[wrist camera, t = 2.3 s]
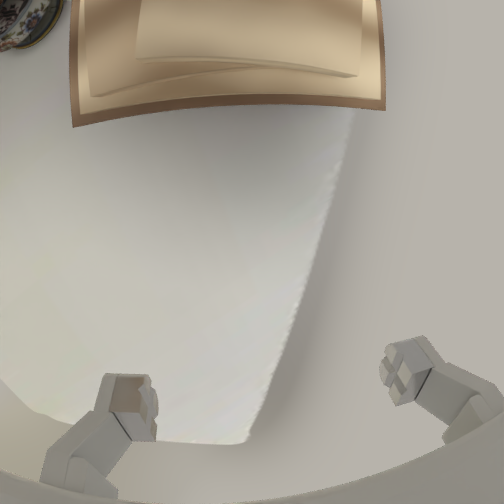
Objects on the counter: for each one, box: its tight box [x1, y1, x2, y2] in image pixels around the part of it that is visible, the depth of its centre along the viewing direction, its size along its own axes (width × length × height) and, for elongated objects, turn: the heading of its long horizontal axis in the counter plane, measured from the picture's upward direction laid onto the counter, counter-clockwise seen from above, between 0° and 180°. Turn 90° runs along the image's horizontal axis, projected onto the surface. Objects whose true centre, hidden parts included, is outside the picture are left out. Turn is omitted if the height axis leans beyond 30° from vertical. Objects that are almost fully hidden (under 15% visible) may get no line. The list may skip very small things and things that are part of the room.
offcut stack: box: [78, 0, 381, 115], centre depth 13 cm, size 11×19×5 cm, turn 92°
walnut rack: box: [69, 0, 386, 128], centre depth 22 cm, size 12×22×16 cm, turn 92°
